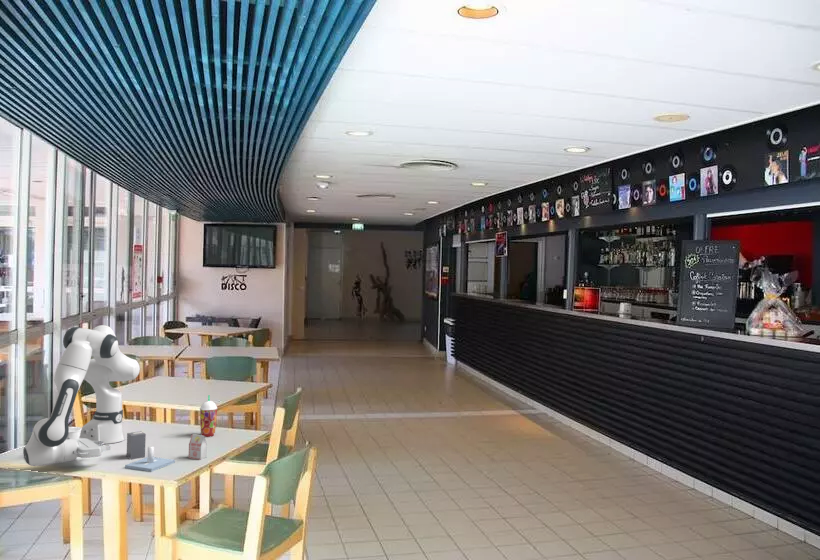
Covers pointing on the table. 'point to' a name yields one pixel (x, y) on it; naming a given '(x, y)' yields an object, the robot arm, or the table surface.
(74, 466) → the table surface
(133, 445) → the tall gray block
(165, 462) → the panel
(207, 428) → the smoothie
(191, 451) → the white paper bag
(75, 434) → the cup
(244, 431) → the table surface
